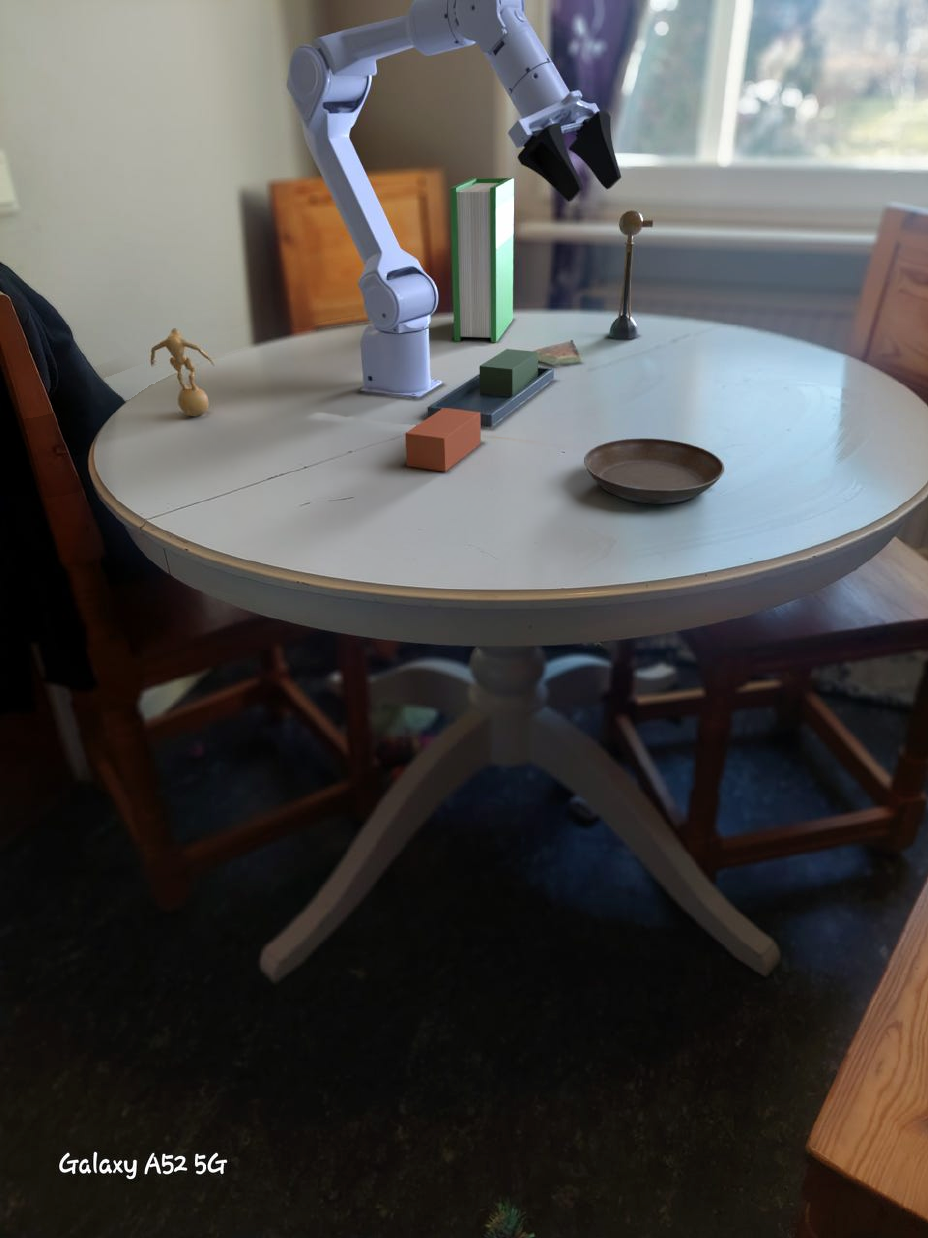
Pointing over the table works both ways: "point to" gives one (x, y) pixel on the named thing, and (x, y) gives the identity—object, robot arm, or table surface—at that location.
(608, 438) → the table surface
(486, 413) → the tray
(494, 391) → the rear pad
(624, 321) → the ball topped stand
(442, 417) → the reddish orange rectangular block
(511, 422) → the table surface
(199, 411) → the figurine
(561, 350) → the tan flat wedge
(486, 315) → the hardback book
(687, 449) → the saucer
